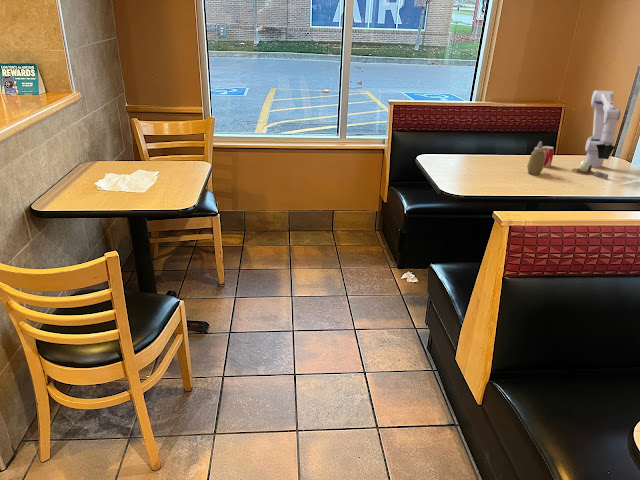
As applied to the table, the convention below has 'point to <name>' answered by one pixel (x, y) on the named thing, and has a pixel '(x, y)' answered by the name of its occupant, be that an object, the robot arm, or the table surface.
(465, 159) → the table surface
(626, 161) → the table surface
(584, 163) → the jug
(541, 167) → the squeeze bottle
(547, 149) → the soda can
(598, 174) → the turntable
